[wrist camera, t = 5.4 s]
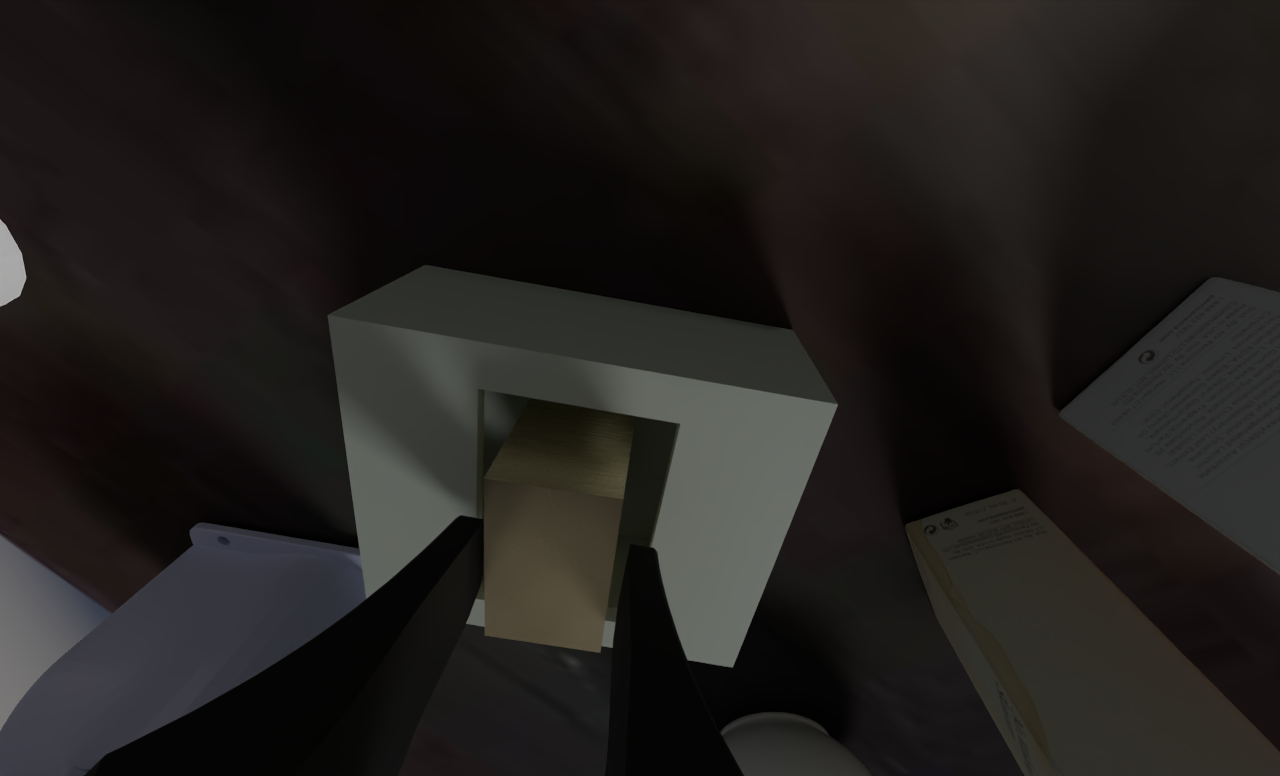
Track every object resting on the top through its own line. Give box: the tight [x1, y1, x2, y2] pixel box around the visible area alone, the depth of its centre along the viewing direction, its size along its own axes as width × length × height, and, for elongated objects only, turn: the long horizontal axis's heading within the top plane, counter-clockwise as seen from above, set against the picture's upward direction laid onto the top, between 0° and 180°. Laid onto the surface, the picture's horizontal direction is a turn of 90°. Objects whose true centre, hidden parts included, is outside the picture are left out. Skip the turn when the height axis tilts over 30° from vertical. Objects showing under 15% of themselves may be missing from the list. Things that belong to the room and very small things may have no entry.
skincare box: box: [905, 489, 1280, 776], centre depth 14 cm, size 6×4×12 cm
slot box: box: [328, 265, 838, 668], centre depth 16 cm, size 12×10×5 cm
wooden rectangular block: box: [484, 398, 636, 653], centre depth 14 cm, size 3×5×5 cm, turn 172°
